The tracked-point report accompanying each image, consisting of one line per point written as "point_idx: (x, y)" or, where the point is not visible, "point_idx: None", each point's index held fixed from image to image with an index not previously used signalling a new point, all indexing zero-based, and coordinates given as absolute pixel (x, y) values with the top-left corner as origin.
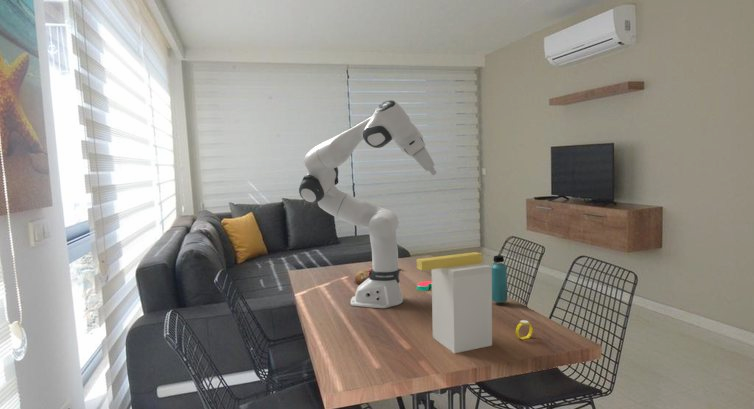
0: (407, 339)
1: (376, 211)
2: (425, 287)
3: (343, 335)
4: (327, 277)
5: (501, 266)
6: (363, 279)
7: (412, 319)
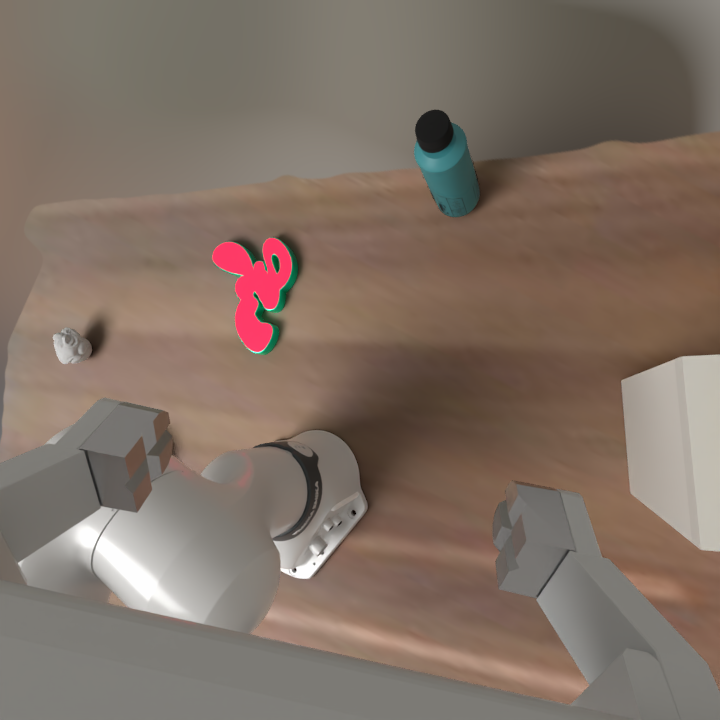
0: (615, 562)
1: (72, 564)
2: (274, 335)
3: None
4: None
5: (459, 142)
6: None
7: (476, 477)
